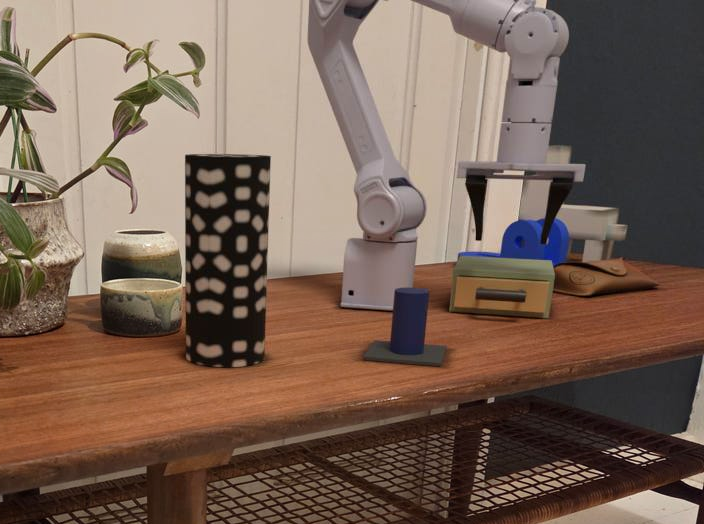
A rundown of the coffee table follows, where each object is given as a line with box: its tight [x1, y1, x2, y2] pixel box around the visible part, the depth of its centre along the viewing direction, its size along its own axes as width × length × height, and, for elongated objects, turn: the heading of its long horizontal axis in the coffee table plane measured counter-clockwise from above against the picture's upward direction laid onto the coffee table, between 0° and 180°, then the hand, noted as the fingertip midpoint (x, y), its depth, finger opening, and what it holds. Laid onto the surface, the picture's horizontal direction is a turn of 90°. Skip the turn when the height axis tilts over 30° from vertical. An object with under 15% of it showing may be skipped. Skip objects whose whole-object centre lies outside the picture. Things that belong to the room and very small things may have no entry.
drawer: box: [454, 276, 549, 313], centre depth 117 cm, size 17×11×4 cm
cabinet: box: [448, 256, 555, 319], centre depth 121 cm, size 14×13×6 cm
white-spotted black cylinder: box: [184, 153, 272, 368], centre depth 89 cm, size 8×8×20 cm
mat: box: [362, 339, 448, 368], centre depth 95 cm, size 8×8×1 cm
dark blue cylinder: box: [389, 287, 430, 355], centre depth 94 cm, size 4×4×6 cm
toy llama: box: [518, 145, 628, 262], centre depth 156 cm, size 8×18×20 cm, turn 49°
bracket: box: [456, 218, 569, 266], centre depth 150 cm, size 18×8×9 cm, turn 36°
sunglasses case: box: [553, 256, 661, 297], centre depth 135 cm, size 18×7×7 cm
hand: (510, 241), depth 109 cm, fingers open, 7 cm apart
